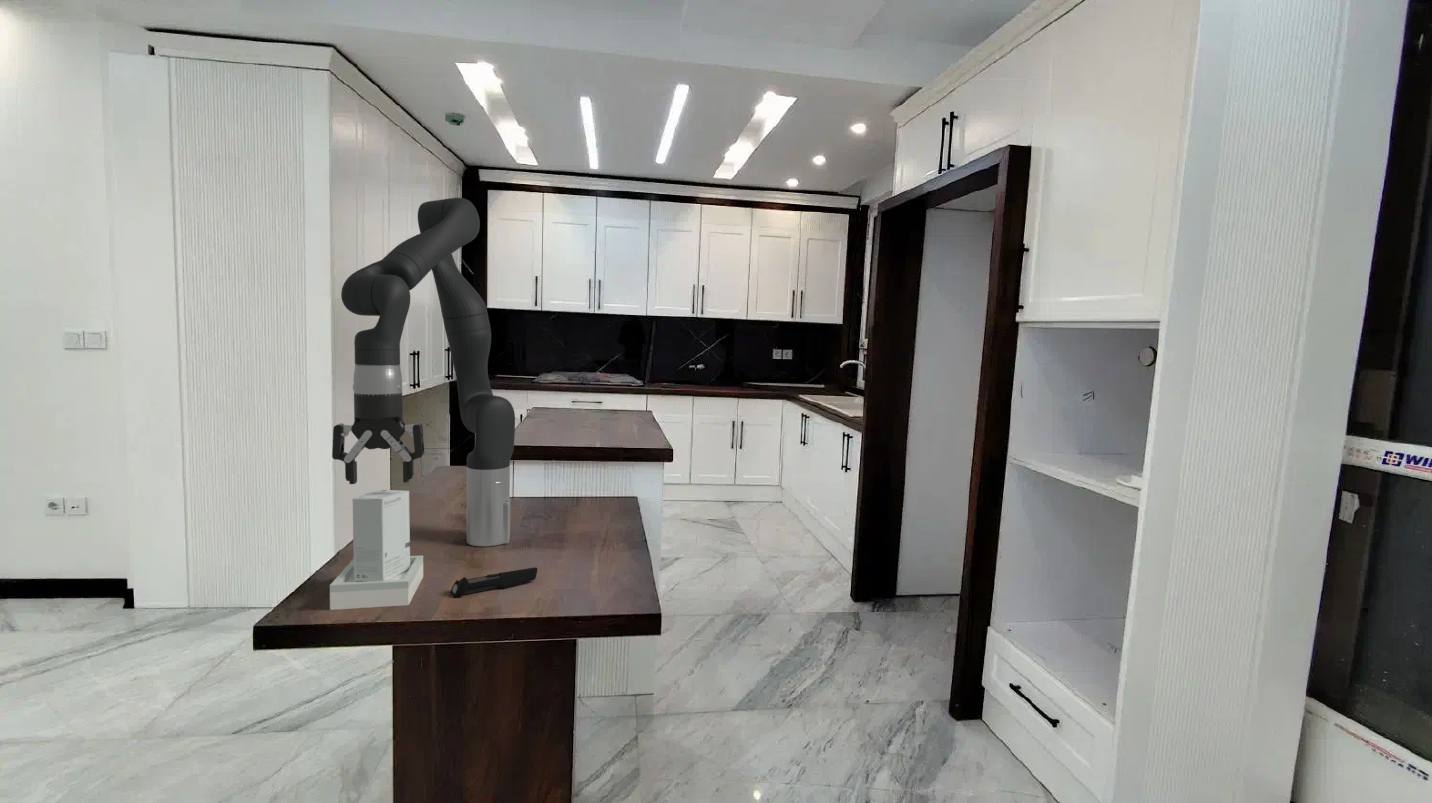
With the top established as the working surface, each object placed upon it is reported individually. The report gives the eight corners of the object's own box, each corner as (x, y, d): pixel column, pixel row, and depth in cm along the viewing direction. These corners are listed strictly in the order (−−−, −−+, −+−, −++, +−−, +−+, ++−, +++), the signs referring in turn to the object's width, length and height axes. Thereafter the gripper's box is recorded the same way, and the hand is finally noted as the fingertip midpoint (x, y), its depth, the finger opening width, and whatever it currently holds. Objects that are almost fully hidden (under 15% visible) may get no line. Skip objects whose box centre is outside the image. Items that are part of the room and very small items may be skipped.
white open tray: (423, 576, 126) (423, 555, 126) (408, 605, 112) (408, 581, 112) (353, 580, 123) (353, 558, 123) (330, 610, 109) (329, 585, 109)
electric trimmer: (540, 585, 125) (540, 569, 125) (454, 600, 116) (455, 582, 116) (533, 579, 128) (533, 563, 128) (449, 593, 119) (449, 576, 119)
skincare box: (383, 584, 113) (382, 499, 112) (351, 581, 114) (350, 497, 113) (411, 568, 122) (411, 489, 120) (381, 566, 122) (380, 487, 121)
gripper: (426, 389, 120) (427, 477, 121) (339, 388, 116) (341, 479, 118) (418, 392, 113) (420, 486, 114) (325, 392, 109) (328, 488, 111)
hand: (380, 482), depth 116 cm, fingers open, 8 cm apart
